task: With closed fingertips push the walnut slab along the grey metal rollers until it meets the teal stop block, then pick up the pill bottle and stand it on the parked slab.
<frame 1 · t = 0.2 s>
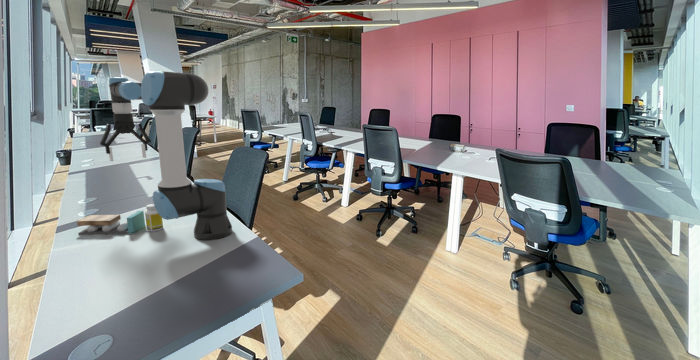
hand: (128, 159, 168), 28 cm above the table, fingers open, 13 cm apart
slab: (99, 220, 154), point 5 cm above the table, slide at 0.0 cm
roller bed: (113, 230, 155), on the table
pill bottle: (155, 229, 157), on the table
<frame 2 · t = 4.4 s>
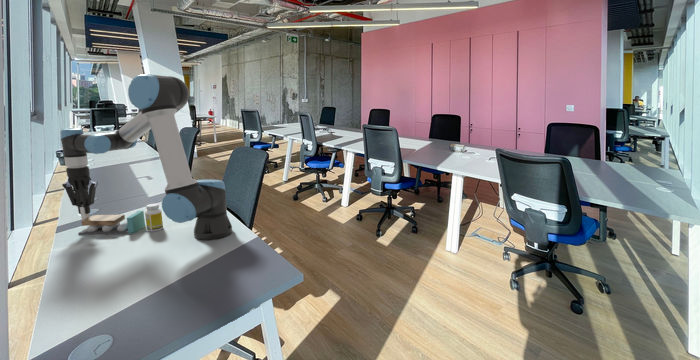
hand: (86, 221, 154), 4 cm above the table, fingers closed
slab: (103, 220, 154), point 5 cm above the table, slide at 1.8 cm, touching gripper
everything else where it was.
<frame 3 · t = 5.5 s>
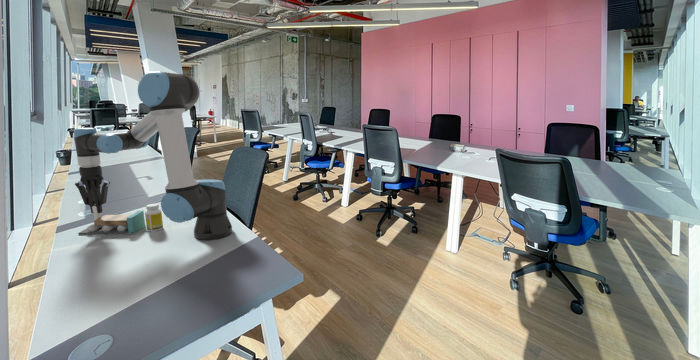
hand: (98, 220, 154), 5 cm above the table, fingers closed
slab: (115, 219, 155), point 5 cm above the table, slide at 6.7 cm, touching gripper
everything else where it was.
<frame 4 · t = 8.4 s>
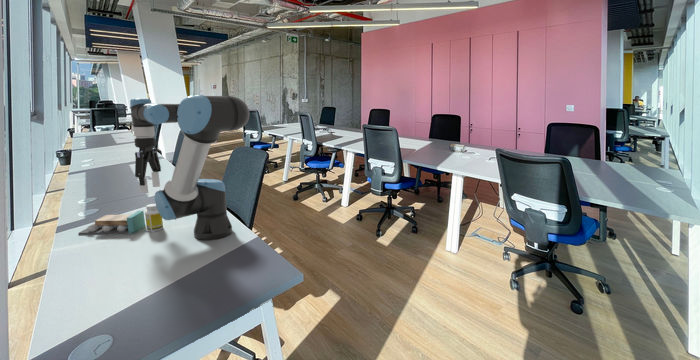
hand: (150, 189, 153), 18 cm above the table, fingers open, 10 cm apart
slab: (116, 219, 155), point 5 cm above the table, slide at 7.1 cm
everything else where it was.
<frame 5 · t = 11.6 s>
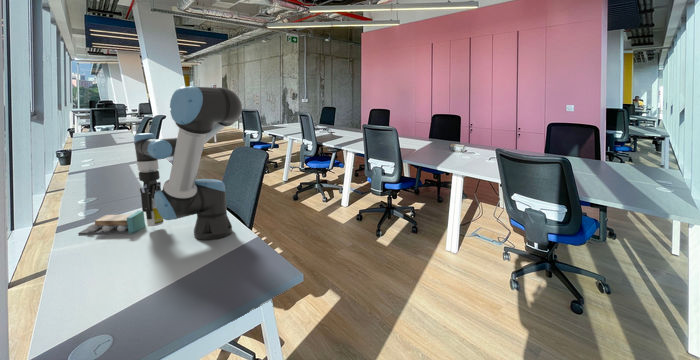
hand: (155, 223, 155), 3 cm above the table, fingers closed on pill bottle, 6 cm apart
pill bottle: (155, 224, 156), point 2 cm above the table, touching gripper
everything else where it was.
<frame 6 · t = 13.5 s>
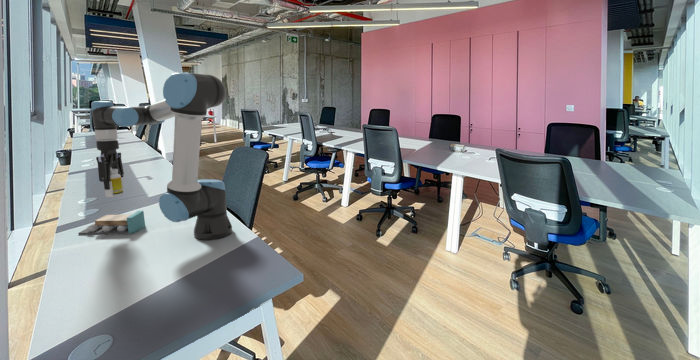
hand: (114, 194, 152), 16 cm above the table, fingers closed on pill bottle, 6 cm apart
pill bottle: (114, 195, 152), point 15 cm above the table, touching gripper
everything else where it was.
when the fingers open (7 cm above the table, at t = 15.3 s): pill bottle drops 1 cm, resting on slab.
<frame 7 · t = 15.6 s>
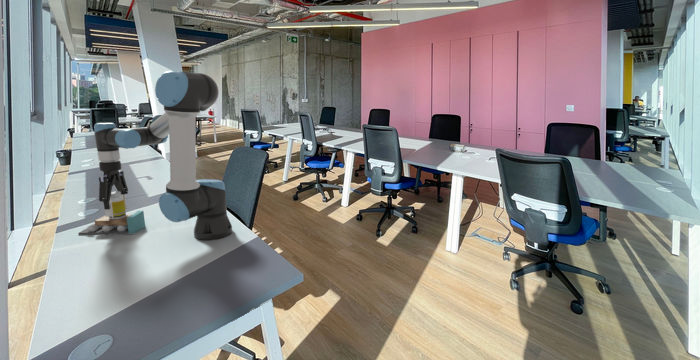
hand: (116, 212, 154), 8 cm above the table, fingers open, 10 cm apart
slab: (116, 219, 155), point 5 cm above the table, slide at 7.0 cm, touching pill bottle
pill bottle: (117, 218, 154), point 5 cm above the table, touching slab
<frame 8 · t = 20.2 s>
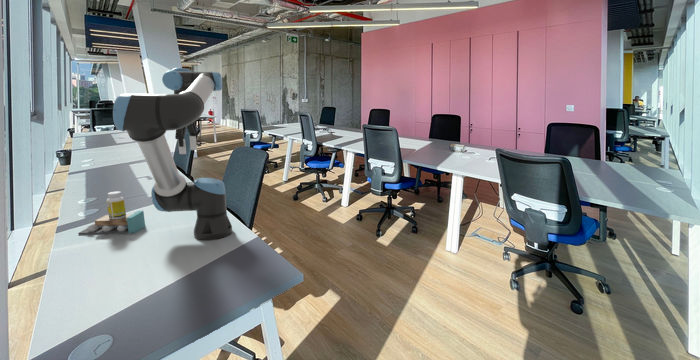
hand: (188, 151, 165), 32 cm above the table, fingers open, 13 cm apart
nothing on the table moved.
at the end: slab slide at 7.0 cm; pill bottle touching slab; pill bottle tilted 0° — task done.
